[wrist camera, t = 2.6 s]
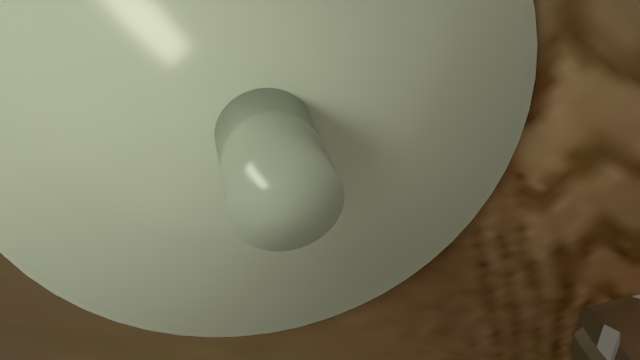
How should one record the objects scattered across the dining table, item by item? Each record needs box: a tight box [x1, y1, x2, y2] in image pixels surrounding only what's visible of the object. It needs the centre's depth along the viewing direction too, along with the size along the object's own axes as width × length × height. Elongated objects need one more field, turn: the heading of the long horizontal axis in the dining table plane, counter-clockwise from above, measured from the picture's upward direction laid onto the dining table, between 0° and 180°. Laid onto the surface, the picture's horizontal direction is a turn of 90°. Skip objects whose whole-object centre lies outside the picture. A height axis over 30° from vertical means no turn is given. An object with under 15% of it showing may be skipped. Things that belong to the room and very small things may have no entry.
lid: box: [0, 0, 538, 337], centre depth 18 cm, size 19×19×5 cm
